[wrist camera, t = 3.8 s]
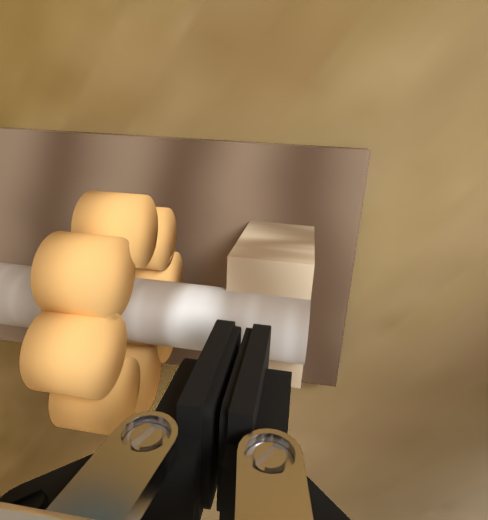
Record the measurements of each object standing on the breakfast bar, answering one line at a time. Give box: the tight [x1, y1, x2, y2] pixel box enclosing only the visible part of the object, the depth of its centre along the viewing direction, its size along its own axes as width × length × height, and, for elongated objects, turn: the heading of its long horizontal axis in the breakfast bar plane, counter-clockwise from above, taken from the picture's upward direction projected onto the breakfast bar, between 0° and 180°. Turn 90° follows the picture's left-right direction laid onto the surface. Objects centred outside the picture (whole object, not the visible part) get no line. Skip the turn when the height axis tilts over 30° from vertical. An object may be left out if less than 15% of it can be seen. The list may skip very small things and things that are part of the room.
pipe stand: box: [0, 127, 371, 388], centre depth 18 cm, size 30×12×8 cm, turn 87°
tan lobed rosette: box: [20, 190, 183, 436], centre depth 15 cm, size 2×9×9 cm, turn 177°
